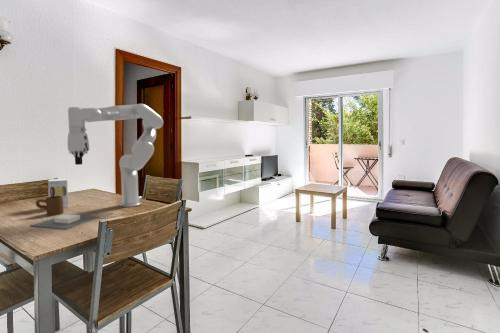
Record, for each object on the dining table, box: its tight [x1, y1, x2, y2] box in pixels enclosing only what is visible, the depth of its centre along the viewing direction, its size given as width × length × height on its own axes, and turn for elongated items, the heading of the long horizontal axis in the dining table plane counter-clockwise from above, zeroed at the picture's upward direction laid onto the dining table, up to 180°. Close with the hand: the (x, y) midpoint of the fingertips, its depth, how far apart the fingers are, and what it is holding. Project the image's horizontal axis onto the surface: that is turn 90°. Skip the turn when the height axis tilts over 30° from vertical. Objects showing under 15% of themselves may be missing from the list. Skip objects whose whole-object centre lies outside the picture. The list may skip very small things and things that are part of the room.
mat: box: [29, 215, 99, 230], centre depth 140 cm, size 20×20×1 cm
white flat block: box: [53, 213, 81, 224], centre depth 140 cm, size 7×2×8 cm
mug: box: [35, 196, 64, 216], centre depth 153 cm, size 12×8×9 cm, turn 130°
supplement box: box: [47, 178, 69, 209], centre depth 169 cm, size 10×9×17 cm
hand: (78, 164), depth 155 cm, fingers closed
